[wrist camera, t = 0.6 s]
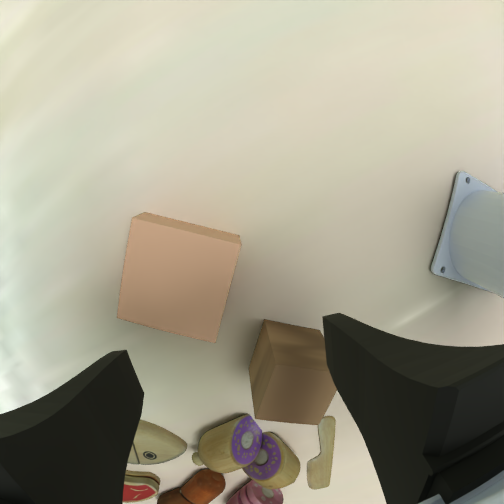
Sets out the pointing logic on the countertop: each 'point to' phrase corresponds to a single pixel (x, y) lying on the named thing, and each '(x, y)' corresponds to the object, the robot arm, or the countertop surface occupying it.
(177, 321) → the base block
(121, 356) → the robot arm
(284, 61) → the countertop surface
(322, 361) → the walnut block
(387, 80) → the countertop surface
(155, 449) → the toy food set
